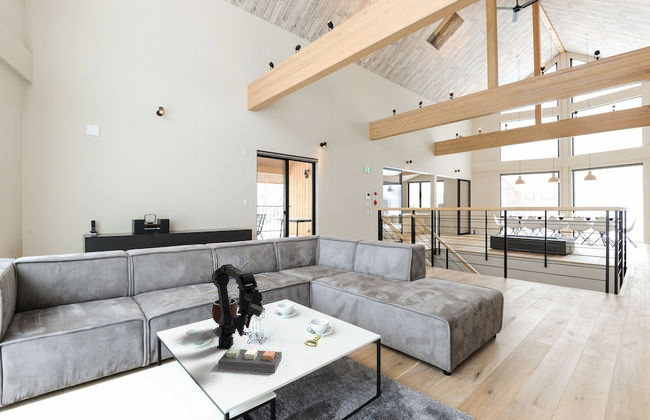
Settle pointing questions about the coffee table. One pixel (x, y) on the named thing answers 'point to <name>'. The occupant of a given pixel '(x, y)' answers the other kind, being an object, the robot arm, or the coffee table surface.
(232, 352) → the sage keycap
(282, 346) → the coffee table surface
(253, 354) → the ivory keycap
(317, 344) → the key
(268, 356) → the terracotta keycap
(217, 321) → the mate gourd
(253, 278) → the robot arm
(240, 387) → the coffee table surface
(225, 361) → the grey flat rectangular block
